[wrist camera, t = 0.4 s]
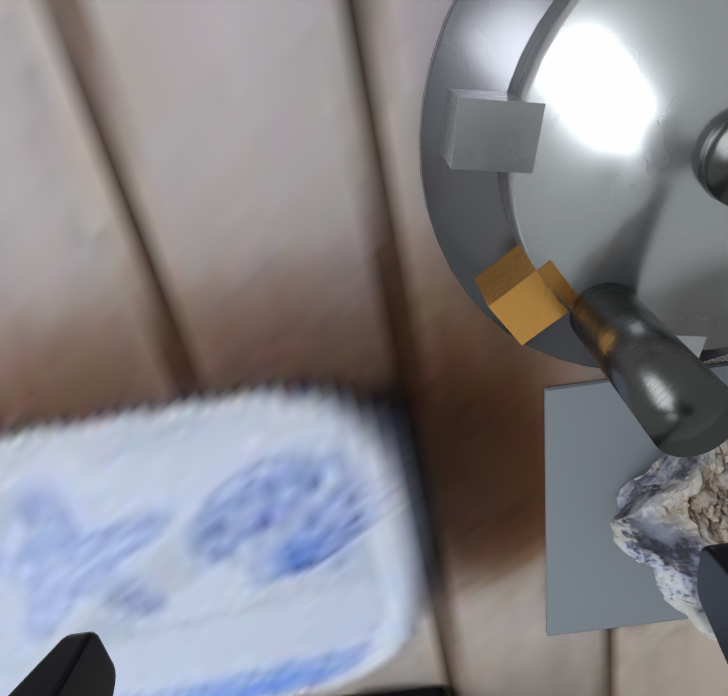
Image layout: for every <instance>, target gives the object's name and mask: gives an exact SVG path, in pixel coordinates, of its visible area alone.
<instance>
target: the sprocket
mask: <svg viewBox="0 0 728 696" xmlns="http://www.w3.org/2000/svg"><path fill="white" fill-rule="evenodd" d="M727 114H728V0H554V1H553V2H552V4H551V5H550V6H549V8H548V9H547V11H546V12H545V14H544V15H543V17H542V18H541V20H540V21H539V22H538V24H537V25H536V27H535V29H534V31H533V33H532V35H531V37H530V39H529V40H528V42H527V44H526V46H525V48H524V50H523V52H522V53H521V56H520V58H519V61H518V63H517V66H516V68H515V71H514V73H513V76H512V78H511V81H510V83H509V87H508V91H507V92H500V91H484V90H469V89H454V88H447V92H446V101H445V109H444V118H443V126H442V135H441V143H440V154H441V155H442V156H443V158H444V159H445V161H446V162H447V164H448V165H449V167H450V168H451V169H462V170H479V171H496V172H497V176H498V185H499V194H500V198H501V202H502V206H503V210H504V214H505V218H506V220H507V223H508V225H509V228H510V230H511V232H512V235H513V237H514V240H515V241H516V243H517V246H515V247H514V248H513V249H512V250H510V251H509V252H508V253H506V254H505V255H504V256H503V257H501V258H500V259H499V260H497V261H496V262H495V263H494V264H492V265H491V266H490V267H488V268H487V269H486V270H485V271H483V272H482V273H481V274H479V275H478V276H477V277H476V278H474V279H475V281H476V283H477V285H478V287H479V289H480V291H481V293H482V295H483V297H484V299H485V301H486V303H487V305H488V307H489V308H490V309H491V311H492V312H493V313H494V314H495V315H496V316H497V318H498V319H499V320H500V321H501V322H502V323H503V324H504V326H505V327H506V328H507V329H508V330H509V331H510V332H511V334H512V335H513V336H514V337H515V338H516V339H517V341H518V342H519V343H520V344H521V345H523V344H524V343H526V342H527V341H529V340H530V339H531V338H533V337H534V336H536V335H537V334H538V333H540V332H541V331H542V330H544V329H545V328H547V327H548V326H549V325H551V324H552V323H554V322H555V321H556V320H558V319H559V318H561V317H562V316H563V315H565V314H566V313H568V312H569V311H570V317H569V319H570V325H571V328H572V330H573V331H574V333H575V334H576V336H577V337H578V338H579V340H580V341H581V343H582V344H583V345H584V347H585V348H586V349H587V351H588V352H589V354H590V355H591V356H592V358H593V359H594V361H595V362H596V363H597V365H598V366H599V368H600V369H601V370H602V372H603V373H604V375H605V376H606V377H607V379H608V380H609V381H610V383H611V384H612V386H613V387H614V388H615V390H616V391H617V393H618V394H619V395H620V397H621V398H622V400H623V401H624V402H625V404H626V405H627V406H628V408H629V409H630V411H631V412H632V413H633V415H634V416H635V418H636V419H637V420H638V422H639V423H640V425H641V426H642V427H643V429H644V430H645V432H646V433H647V434H648V436H649V437H650V438H651V440H652V441H653V443H654V444H655V445H656V446H657V448H658V449H660V450H661V451H662V452H664V453H666V454H668V455H671V456H675V457H693V456H698V455H701V454H704V453H707V452H709V451H711V450H713V449H715V448H717V447H718V446H720V445H721V444H722V443H724V442H725V441H726V440H727V439H728V386H727V385H726V384H725V383H724V382H723V381H722V380H721V379H720V378H719V377H718V376H717V375H716V374H714V373H713V372H712V371H711V370H710V369H709V368H708V367H707V366H706V365H705V364H704V363H703V362H702V361H701V360H700V359H699V357H700V354H701V351H702V350H710V349H717V348H722V347H727V346H728V206H727V205H725V204H723V203H721V202H719V201H717V200H715V199H713V198H712V197H711V196H709V195H708V194H707V192H706V191H705V190H704V188H703V187H702V185H701V182H700V179H699V175H698V160H699V155H700V152H701V148H702V146H703V144H704V141H705V140H706V138H707V136H708V135H709V133H710V132H711V130H712V129H713V128H714V126H715V125H716V124H717V123H718V122H719V121H720V120H721V119H722V118H723V117H725V116H726V115H727Z"/></svg>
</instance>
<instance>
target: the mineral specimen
mask: <svg viewBox="0 0 728 696" xmlns="http://www.w3.org/2000/svg"><path fill="white" fill-rule="evenodd" d="M617 503H618V507H617V510H616V513H615V515H614V517H613V518H612V520H611V521H610V523H609V524H610V526H611V528H612V530H613V532H614V535H613V541H614V542H615V543H616V544H617V545H618V546H619V547H620V548H621V549H622V551H623V552H625V553H626V554H627V555H629V556H630V557H631V558H633V559H634V560H635V561H637V562H638V563H640V562H643V563H645V564H647V565H649V566H651V567H652V568H653V571H654V574H655V580H656V586H657V587H658V588H659V590H660V591H661V592H662V593H663V596H664V600H665V601H666V602H668V603H669V604H670V605H671V606H673V607H674V608H675V609H676V610H678V611H680V612H682V613H684V614H686V615H687V616H688V618H689V619H690V620H691V622H692V623H693V624H694V625H695V626H696V627H697V629H698V630H699V631H700V632H701V633H703V634H705V635H706V636H707V637H708V638H710V639H711V640H712V641H714V642H717V643H718V641H717V639H716V636H715V634H714V632H713V630H712V628H711V625H710V623H709V621H708V619H707V616H706V614H705V612H704V610H703V607H702V605H701V603H700V600H699V597H698V593H697V578H698V569H699V561H700V554H701V550H702V549H703V548H704V547H705V546H707V545H714V544H721V543H728V439H727V440H726V441H725V442H724V443H722V444H721V445H720V446H718V447H717V448H715V449H713V450H711V451H709V452H707V453H704V454H701V455H698V456H693V457H675V456H671V455H668V454H666V453H664V452H663V454H662V455H661V457H660V458H659V460H658V461H656V462H655V463H653V464H652V466H651V468H650V469H649V471H648V472H646V473H645V474H644V475H642V476H640V477H637V478H635V479H632V480H630V481H628V482H627V483H626V484H625V485H624V486H623V487H622V488H621V489H620V491H619V494H618V496H617Z"/></svg>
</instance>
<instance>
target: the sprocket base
mask: <svg viewBox="0 0 728 696" xmlns="http://www.w3.org/2000/svg"><path fill="white" fill-rule="evenodd" d="M553 1H554V0H454V1H453V3H452V5H451V7H450V9H449V11H448V13H447V15H446V18H445V20H444V22H443V25H442V28H441V31H440V34H439V37H438V40H437V43H436V46H435V49H434V52H433V55H432V58H431V61H430V66H429V70H428V75H427V80H426V84H425V89H424V94H423V99H422V109H421V120H420V131H419V150H420V173H421V179H422V185H423V191H424V197H425V203H426V207H427V210H428V214H429V217H430V220H431V223H432V226H433V230H434V233H435V236H436V238H437V241H438V243H439V245H440V247H441V249H442V251H443V253H444V255H445V258H446V260H447V262H448V264H449V266H450V268H451V270H452V271H453V273H454V274H455V276H456V277H457V279H458V280H459V282H460V283H461V285H462V286H463V288H464V289H465V291H466V292H467V294H468V295H469V296H470V297H471V298H472V300H473V301H474V302H475V303H476V304H477V305H478V306H479V307H480V308H481V309H482V311H483V312H484V313H485V314H486V315H487V316H488V317H489V318H491V319H492V320H493V321H494V322H496V323H497V324H498V325H499V326H500V327H502V328H503V329H504V330H505V331H506V332H508V333H509V334H511V332H510V331H509V330H508V329H507V328H506V327H505V326H504V324H503V323H502V322H501V321H500V320H499V319H498V318H497V316H496V315H495V314H494V313H493V312H492V311H491V309H490V308H489V307H488V305H487V303H486V301H485V299H484V297H483V295H482V293H481V291H480V289H479V287H478V285H477V283H476V281H475V279H474V278H476V277H477V276H478V275H479V274H481V273H482V272H483V271H485V270H486V269H487V268H488V267H490V266H491V265H492V264H494V263H495V262H496V261H497V260H499V259H500V258H501V257H503V256H504V255H505V254H506V253H508V252H509V251H510V250H512V249H513V248H514V247H515V246H517V243H516V241H515V240H514V237H513V235H512V232H511V230H510V228H509V225H508V223H507V220H506V218H505V214H504V210H503V206H502V202H501V198H500V194H499V185H498V176H497V172H496V171H479V170H462V169H451V168H450V167H449V165H448V164H447V162H446V161H445V159H444V158H443V156H442V155H441V154H440V143H441V135H442V126H443V118H444V109H445V101H446V92H447V88H454V89H469V90H484V91H500V92H507V91H508V87H509V83H510V81H511V78H512V76H513V73H514V71H515V68H516V66H517V63H518V61H519V58H520V56H521V53H522V52H523V50H524V48H525V46H526V44H527V42H528V40H529V39H530V37H531V35H532V33H533V31H534V29H535V27H536V25H537V24H538V22H539V21H540V20H541V18H542V17H543V15H544V14H545V12H546V11H547V9H548V8H549V6H550V5H551V4H552V2H553ZM698 175H699V179H700V182H701V185H702V187H703V188H704V190H705V191H706V192H707V194H708V195H709V196H711V197H712V198H713V199H715V200H717V201H719V202H721V203H723V204H725V205H727V206H728V114H727V115H726V116H725V117H723V118H722V119H721V120H720V121H719V122H718V123H717V124H716V125H715V126H714V128H713V129H712V130H711V132H710V133H709V135H708V136H707V138H706V140H705V141H704V144H703V146H702V148H701V152H700V155H699V160H698ZM569 317H570V311H569V312H568V313H566V314H565V315H563V316H562V317H561V318H559V319H558V320H556V321H555V322H554V323H552V324H551V325H549V326H548V327H547V328H545V329H544V330H542V331H541V332H540V333H538V334H537V335H536V336H534V337H533V338H531V339H530V340H529V341H527V342H526V344H527V345H529V346H530V347H532V348H535V349H537V350H539V351H542V352H544V353H546V354H549V355H551V356H553V357H555V358H558V359H562V360H565V361H569V362H573V363H576V364H580V365H583V366H589V367H596V368H599V366H598V365H597V363H596V362H595V361H594V359H593V358H592V356H591V355H590V354H589V352H588V351H587V349H586V348H585V347H584V345H583V344H582V343H581V341H580V340H579V338H578V337H577V336H576V334H575V333H574V331H573V330H572V328H571V325H570V319H569ZM511 335H512V334H511ZM512 336H513V335H512ZM726 354H728V346H727V347H722V348H717V349H710V350H702V351H701V354H700V357H699V359H700V360H701V361H702V362H703V361H706V360H709V359H713V358H716V357H719V356H723V355H726Z"/></svg>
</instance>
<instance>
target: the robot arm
mask: <svg viewBox="0 0 728 696" xmlns="http://www.w3.org/2000/svg"><path fill="white" fill-rule="evenodd" d="M697 593H698V597H699V600H700V603H701V605H702V607H703V610H704V612H705V614H706V616H707V619H708V621H709V623H710V625H711V628H712V630H713V632H714V634H715V636H716V639H717V641H718V643H719V645H720V648H721V650H722V652H723V654H724V657H725V659H726V661H727V663H728V543H721V544H714V545H707V546H705V547H704V548H703V549H702V550H701V554H700V561H699V569H698V578H697ZM115 678H116V674H115V668H114V665H113V662H112V660H111V659H110V657H109V655H108V653H107V651H106V649H105V647H104V645H103V644H102V642H101V640H100V638H99V636H98V635H97V634H96V633H94V632H84V633H77V634H71V635H68V636H66V637H65V638H63V639H62V640H61V641H60V642H59V643H58V644H57V645H56V646H55V647H54V648H53V649H52V650H51V651H50V652H49V654H48V655H47V656H46V657H45V658H44V659H43V660H42V661H41V662H40V663H39V664H38V665H37V666H36V667H35V668H34V669H33V670H32V671H31V672H30V673H29V675H28V676H27V677H26V678H25V679H24V680H23V681H22V682H21V683H20V684H19V685H18V686H17V687H16V688H15V689H14V690H13V691H12V692H11V693H10V694H9V695H8V696H113V693H114V687H115ZM374 696H447V692H446V691H445V690H444V689H441V688H432V689H424V690H415V691H407V692H399V693H391V694H383V695H374Z"/></svg>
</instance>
